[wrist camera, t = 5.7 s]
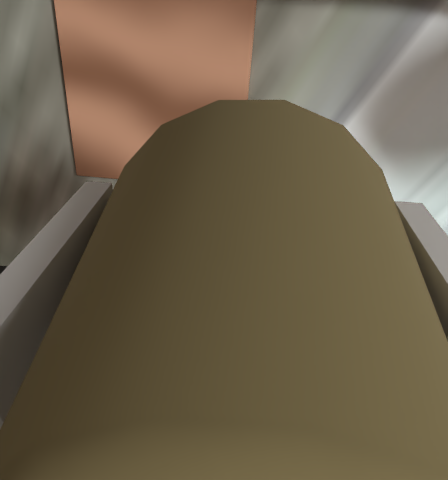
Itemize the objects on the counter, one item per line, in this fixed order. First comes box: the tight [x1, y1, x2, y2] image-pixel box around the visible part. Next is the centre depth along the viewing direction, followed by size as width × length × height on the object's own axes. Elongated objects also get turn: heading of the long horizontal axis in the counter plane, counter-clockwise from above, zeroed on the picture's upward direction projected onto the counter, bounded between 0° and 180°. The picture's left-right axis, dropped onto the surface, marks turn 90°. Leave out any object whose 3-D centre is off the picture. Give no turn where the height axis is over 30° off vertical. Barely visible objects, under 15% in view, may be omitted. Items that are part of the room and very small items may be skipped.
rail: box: [54, 0, 257, 179], centre depth 24 cm, size 16×28×3 cm, turn 86°
